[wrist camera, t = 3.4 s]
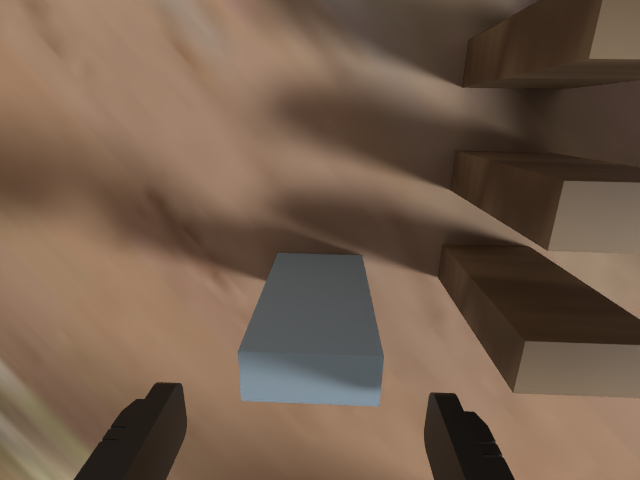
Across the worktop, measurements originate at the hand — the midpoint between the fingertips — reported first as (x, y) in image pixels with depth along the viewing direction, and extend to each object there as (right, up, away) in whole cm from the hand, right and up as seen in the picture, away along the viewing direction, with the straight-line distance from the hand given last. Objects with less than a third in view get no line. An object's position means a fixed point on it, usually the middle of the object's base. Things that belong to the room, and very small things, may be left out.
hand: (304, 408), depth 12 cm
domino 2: (+11, +14, +7) cm, 19 cm away
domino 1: (0, +4, +11) cm, 12 cm away
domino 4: (+10, +4, +10) cm, 15 cm away
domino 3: (+11, +9, +9) cm, 17 cm away
